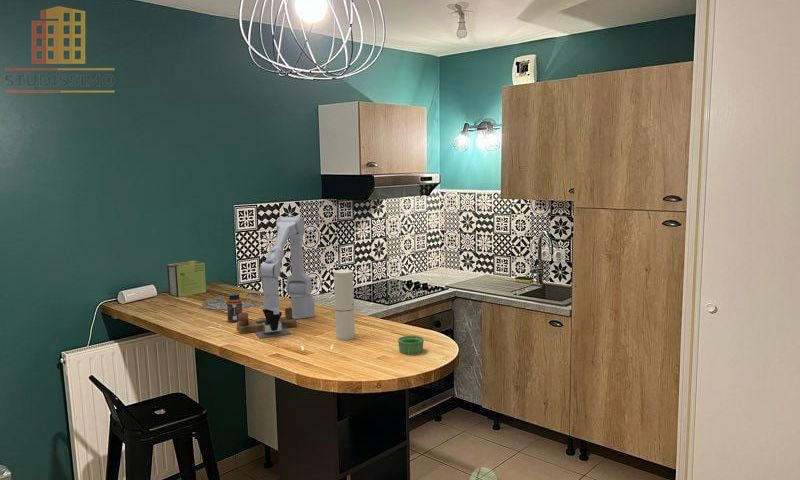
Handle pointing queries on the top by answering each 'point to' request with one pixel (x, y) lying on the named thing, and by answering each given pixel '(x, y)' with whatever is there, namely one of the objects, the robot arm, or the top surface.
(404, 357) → the top surface
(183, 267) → the protein box
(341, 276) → the cylindrical container
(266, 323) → the light switch plate
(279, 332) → the rubber mat
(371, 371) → the top surface
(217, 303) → the worn metal disc
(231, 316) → the supplement bottle
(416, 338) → the ramekin
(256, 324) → the body
